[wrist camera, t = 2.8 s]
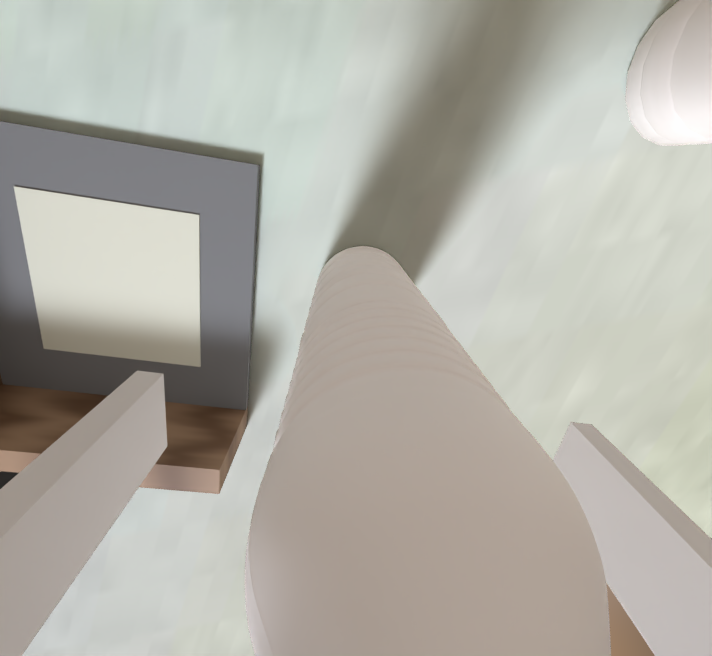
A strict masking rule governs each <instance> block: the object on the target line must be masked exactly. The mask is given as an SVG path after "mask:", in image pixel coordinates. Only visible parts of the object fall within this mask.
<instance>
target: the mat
mask: <svg viewBox="0 0 712 656" xmlns="http://www.w3.org/2000/svg"><path fill="white" fill-rule="evenodd" d="M259 174H260V165H255V164H249V163H243V162H237V161H232V160H226V159H220V158H214V157H208V156H202V155H196V154H190V153H184V152H179V151H173V150H167V149H161V148H155V147H149V146H143V145H137V144H131V143H126V142H120V141H114V140H108V139H102V138H96V137H90V136H84V135H78V134H73V133H67V132H61V131H55V130H49V129H43V128H37V127H31V126H25V125H20V124H14V123H8V122H2V121H0V375H1V379H2V383H3V384H5V385H14V386H23V387H33V388H42V389H51V390H61V391H70V392H80V393H89V394H98V395H110V394H111V393H112V392H113V391H114V390H115V389H116V388H118V387H119V386H120V385H121V384H122V383H123V382H125V381H126V380H127V379H128V378H129V377H130V376H131V375H133V374H134V373H135V372H136V371H145V372H154V373H162V374H164V392H165V402H173V403H183V404H192V405H202V406H211V407H220V408H230V409H239V410H246V409H247V407H248V392H249V372H250V352H251V333H252V313H253V293H254V273H255V254H256V234H257V214H258V194H259Z"/></svg>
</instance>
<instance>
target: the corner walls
mask: <svg viewBox="0 0 712 656" xmlns="http://www.w3.org/2000/svg"><path fill="white" fill-rule="evenodd" d="M107 396H108V395H98V394H89V393H80V392H70V391H61V390H51V389H42V388H33V387H23V386H14V385H5V384H3V383H2V379H1V375H0V472H1V471H6V472H16V473H20V472H21V471H22V470H23V469H24V468H25V467H27V466H28V465H29V464H30V463H31V462H32V461H33V460H35V459H36V458H37V457H38V456H39V455H40V454H42V453H43V452H44V451H45V450H46V449H47V448H48V447H50V446H51V445H52V444H53V443H54V442H55V441H57V440H58V439H59V438H60V437H61V436H62V435H63V434H65V433H66V432H67V431H68V430H69V429H70V428H71V427H73V426H74V425H75V424H76V423H77V422H78V421H80V420H81V419H82V418H83V417H84V416H85V415H86V414H88V413H89V412H90V411H91V410H92V409H93V408H95V407H96V406H97V405H98V404H99V403H100V402H101V401H103V400H104V399H105V398H106V397H107ZM165 411H166V429H167V448H166V449H165V450H164V452H163V453H162V455H161V456H160V458H159V459H158V460H157V462H156V463H155V465H154V466H153V468H152V469H151V471H150V472H149V473H148V475H147V476H146V478H145V479H144V481H143V482H142V483H141V485H140V486H139V487H144V488H155V489H167V490H179V491H191V492H203V493H214V494H219V493H220V491H221V488H222V486H223V483H224V481H225V478H226V476H227V473H228V471H229V469H230V466H231V464H232V461H233V459H234V456H235V454H236V451H237V449H238V446H239V444H240V441H241V439H242V437H243V434H244V432H245V429H246V427H247V412H248V407H247V409H246V410H239V409H230V408H220V407H211V406H202V405H192V404H183V403H173V402H165Z"/></svg>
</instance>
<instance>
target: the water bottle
mask: <svg viewBox="0 0 712 656" xmlns="http://www.w3.org/2000/svg"><path fill="white" fill-rule="evenodd" d="M245 602H246V613H247V621H248V628H249V633H250V638H251V642H252V645H253V649H254V652H255V656H611V648H610V647H611V646H610V627H609V610H608V596H607V587H606V579H605V574H604V569H603V565H602V561H601V557H600V553H599V550H598V547H597V544H596V541H595V538H594V535H593V532H592V530H591V527H590V525H589V522H588V520H587V518H586V515H585V513H584V511H583V509H582V507H581V505H580V503H579V501H578V499H577V497H576V495H575V493H574V492H573V490H572V488H571V486H570V485H569V483H568V482H567V480H566V479H565V477H564V476H563V474H562V473H561V471H560V470H559V469H558V467H557V466H556V464H555V463H554V462H553V460H552V459H551V458H550V457H549V455H548V454H547V453H546V451H545V450H544V449H543V448H542V446H541V445H540V444H539V443H538V441H537V440H536V439H535V438H534V437H533V436H532V434H531V433H530V432H529V431H528V430H527V429H526V428H525V427H524V426H523V424H522V423H521V422H520V421H519V420H518V418H517V417H516V416H515V415H514V414H513V413H512V412H511V410H510V409H509V407H508V406H507V404H506V403H505V401H504V400H503V399H502V398H501V396H500V395H499V394H498V393H497V392H496V391H495V389H494V388H493V386H492V385H491V383H490V382H489V381H488V380H487V378H486V377H485V376H484V375H483V373H482V372H481V370H480V369H479V368H478V367H477V365H476V364H475V363H474V362H473V360H472V359H471V358H470V356H469V355H468V354H467V352H466V351H465V350H464V349H463V347H462V346H461V344H460V343H459V342H458V341H457V340H456V338H455V337H454V335H453V334H452V333H451V332H450V331H449V329H448V328H447V326H446V324H445V323H444V321H443V320H442V318H441V317H440V316H439V315H438V313H437V312H436V311H435V310H434V309H433V308H432V306H431V305H430V303H429V302H428V301H427V299H426V298H425V297H424V296H423V295H422V293H421V292H420V290H419V289H418V288H417V287H416V286H415V284H414V283H413V281H412V280H411V279H410V278H409V277H408V275H407V274H406V272H405V271H404V270H403V268H402V267H401V266H400V265H399V263H398V262H397V261H396V260H395V259H394V258H393V257H392V256H391V255H389V254H388V253H386V252H384V251H382V250H380V249H378V248H374V247H369V246H357V247H351V248H348V249H345V250H343V251H341V252H339V253H337V254H336V255H334V256H333V257H332V258H331V259H330V260H329V261H328V262H327V263H326V264H325V266H324V267H323V269H322V271H321V273H320V275H319V278H318V280H317V284H316V288H315V292H314V296H313V298H312V303H311V307H310V309H309V314H308V317H307V320H306V324H305V329H304V333H303V335H302V338H301V342H300V347H299V352H298V357H297V359H296V364H295V368H294V370H293V375H292V380H291V382H290V386H289V391H288V394H287V396H286V401H285V405H284V410H283V412H282V415H281V419H280V424H279V429H278V430H277V433H276V437H275V442H274V447H273V452H272V454H271V456H270V459H269V462H268V465H267V468H266V471H265V474H264V477H263V479H262V482H261V485H260V488H259V492H258V495H257V499H256V503H255V506H254V510H253V515H252V520H251V526H250V531H249V536H248V542H247V550H246V560H245Z"/></svg>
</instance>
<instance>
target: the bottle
mask: <svg viewBox="0 0 712 656" xmlns="http://www.w3.org/2000/svg"><path fill="white" fill-rule="evenodd" d="M625 101H626V106H627V110H628V114H629V118H630V122H631V123H632V124H633V126H634V127H635V128H636V130H637V131H638V132H639V134H640V135H641V136H642V137H643V138H645V139H647V140H649V141H651V142H653V143H655V144H657V145H678V146H680V145H687V144H709V143H712V0H679V1H678V2H677V3H675V4H674V5H673V6H672V7H671V8H670V9H668V10H667V11H666V12H665V13H664V14H662V15H661V16H660V17H659V18H658V19H656V20H655V22H654V23H653V25H652V26H651V27H650V29H649V30H648V32H647V33H646V35H645V36H644V37H643V39H642V40H641V42H640V43H639V44H638V46H637V49H636V52H635V54H634V57H633V60H632V62H631V65H630V67H629V70H628V73H627V83H626V93H625Z"/></svg>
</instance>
